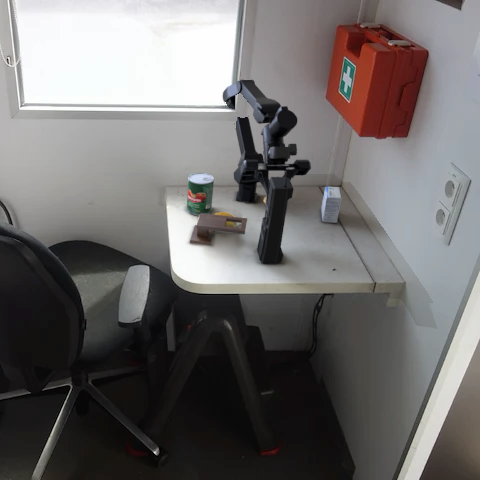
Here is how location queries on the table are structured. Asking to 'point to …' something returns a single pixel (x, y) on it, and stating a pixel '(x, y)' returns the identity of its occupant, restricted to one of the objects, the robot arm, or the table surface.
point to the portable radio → (274, 220)
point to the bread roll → (230, 224)
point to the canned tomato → (200, 193)
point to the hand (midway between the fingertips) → (277, 196)
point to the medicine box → (331, 204)
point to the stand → (214, 227)
